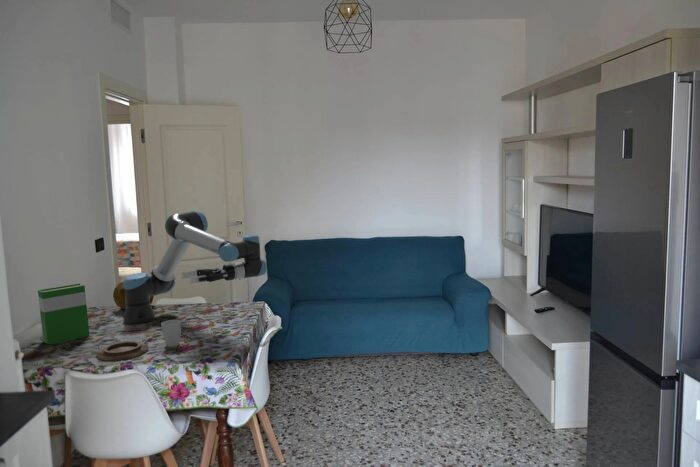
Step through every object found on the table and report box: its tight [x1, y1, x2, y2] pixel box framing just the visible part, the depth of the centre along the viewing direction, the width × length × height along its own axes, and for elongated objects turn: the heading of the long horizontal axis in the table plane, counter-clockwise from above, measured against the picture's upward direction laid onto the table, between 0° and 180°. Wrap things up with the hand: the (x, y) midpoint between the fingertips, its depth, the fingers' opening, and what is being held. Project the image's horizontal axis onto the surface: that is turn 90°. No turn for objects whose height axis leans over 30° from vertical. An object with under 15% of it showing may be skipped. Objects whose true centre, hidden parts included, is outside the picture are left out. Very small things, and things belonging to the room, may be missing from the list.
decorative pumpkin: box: [112, 280, 155, 310], centre depth 303 cm, size 20×21×20 cm
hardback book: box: [37, 283, 91, 345], centre depth 250 cm, size 18×7×24 cm, turn 133°
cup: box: [160, 319, 182, 348], centre depth 236 cm, size 8×8×10 cm
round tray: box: [96, 340, 149, 362], centre depth 229 cm, size 20×20×2 cm
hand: (186, 278), depth 239 cm, fingers open, 13 cm apart
